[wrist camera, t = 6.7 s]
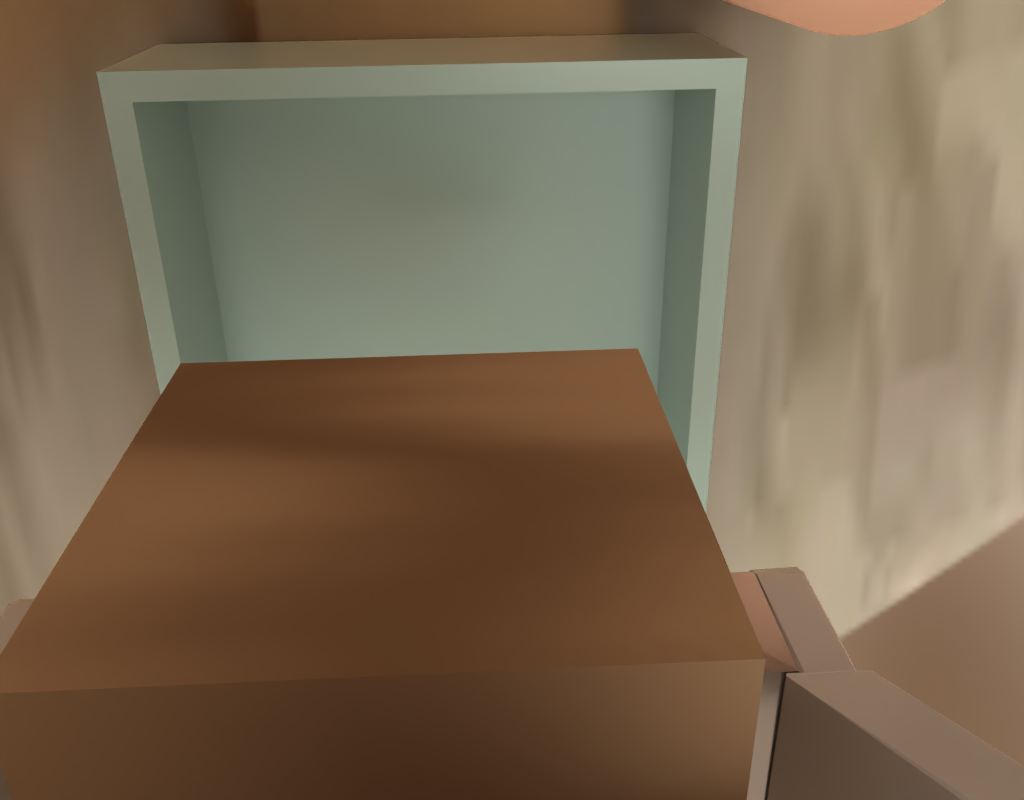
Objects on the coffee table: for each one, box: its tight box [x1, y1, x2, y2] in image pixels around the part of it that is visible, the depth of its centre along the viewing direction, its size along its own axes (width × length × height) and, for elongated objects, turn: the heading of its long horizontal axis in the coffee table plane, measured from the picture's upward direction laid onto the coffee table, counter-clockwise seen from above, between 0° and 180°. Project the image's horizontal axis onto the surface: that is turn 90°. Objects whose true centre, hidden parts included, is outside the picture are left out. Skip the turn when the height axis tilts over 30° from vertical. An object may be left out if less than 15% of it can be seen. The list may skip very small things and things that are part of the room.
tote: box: [96, 33, 747, 513], centre depth 26 cm, size 17×13×5 cm
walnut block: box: [0, 348, 766, 800], centre depth 10 cm, size 5×5×5 cm
